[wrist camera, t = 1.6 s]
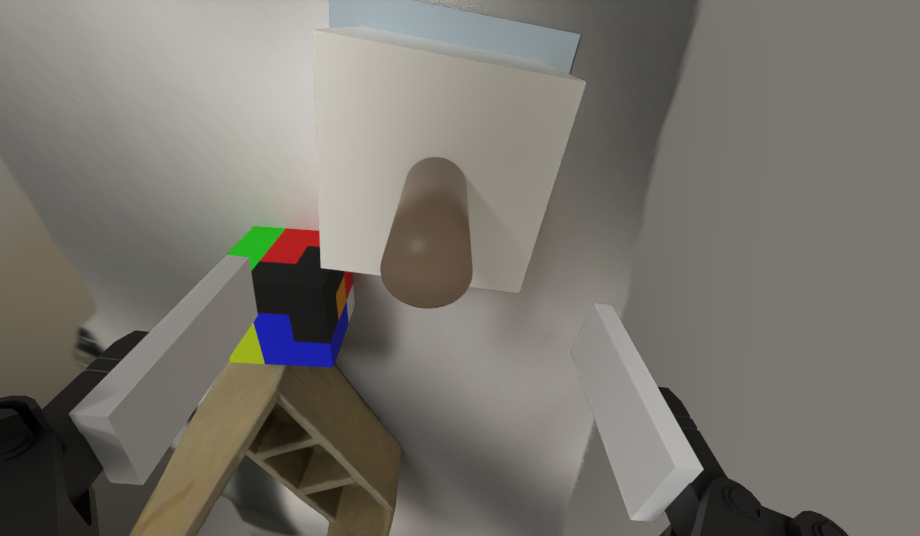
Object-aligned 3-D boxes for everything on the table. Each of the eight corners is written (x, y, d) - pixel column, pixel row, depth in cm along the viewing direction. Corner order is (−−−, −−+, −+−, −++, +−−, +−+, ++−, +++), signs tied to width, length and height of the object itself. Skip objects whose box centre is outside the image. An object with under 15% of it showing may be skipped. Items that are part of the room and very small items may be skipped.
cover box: (360, 26, 30) (208, 35, 12) (543, 62, 32) (671, 121, 13) (356, 201, 38) (264, 372, 20) (502, 223, 40) (544, 400, 21)
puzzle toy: (355, 304, 46) (333, 367, 38) (271, 299, 46) (230, 362, 37) (349, 232, 41) (322, 287, 33) (254, 225, 40) (201, 279, 32)
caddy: (404, 447, 63) (371, 730, 38) (347, 460, 65) (280, 738, 40) (305, 324, 48) (142, 658, 23) (235, 346, 50) (14, 676, 25)
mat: (330, -17, 29) (328, -17, 29) (579, 34, 31) (580, 34, 31) (333, 217, 40) (332, 219, 39) (518, 244, 42) (518, 245, 41)
